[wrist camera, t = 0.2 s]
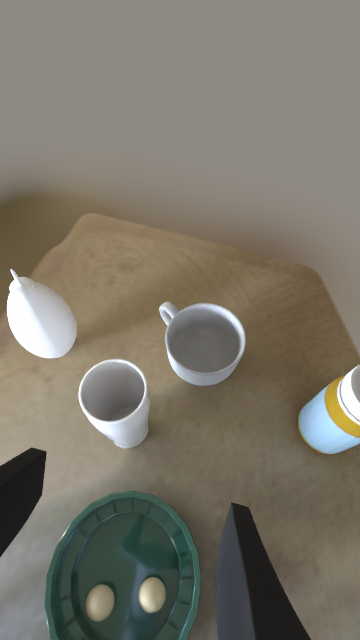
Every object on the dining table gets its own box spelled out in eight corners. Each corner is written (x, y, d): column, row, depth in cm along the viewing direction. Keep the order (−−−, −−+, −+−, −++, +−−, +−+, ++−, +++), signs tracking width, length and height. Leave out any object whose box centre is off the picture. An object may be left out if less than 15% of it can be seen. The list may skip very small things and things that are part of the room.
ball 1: (111, 620, 32) (107, 628, 30) (85, 614, 33) (78, 621, 30) (119, 585, 34) (115, 590, 32) (93, 579, 34) (88, 583, 32)
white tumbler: (156, 406, 45) (152, 360, 33) (150, 457, 42) (143, 428, 29) (109, 402, 45) (86, 354, 33) (99, 452, 42) (69, 421, 29)
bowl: (184, 690, 31) (186, 710, 27) (33, 651, 32) (17, 666, 28) (206, 508, 39) (209, 507, 35) (85, 482, 40) (77, 479, 36)
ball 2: (162, 612, 33) (162, 619, 31) (136, 606, 33) (134, 612, 31) (168, 578, 34) (168, 582, 32) (143, 572, 35) (141, 576, 32)
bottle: (308, 460, 42) (368, 432, 29) (287, 408, 46) (333, 364, 33) (356, 449, 43) (434, 417, 30) (332, 399, 47) (393, 352, 34)
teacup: (250, 369, 49) (263, 345, 42) (192, 409, 45) (196, 389, 38) (196, 307, 55) (200, 276, 48) (141, 337, 51) (137, 309, 44)
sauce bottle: (71, 375, 47) (25, 305, 32) (23, 362, 48) (-44, 288, 33) (92, 331, 51) (60, 251, 36) (47, 320, 52) (-2, 237, 37)
